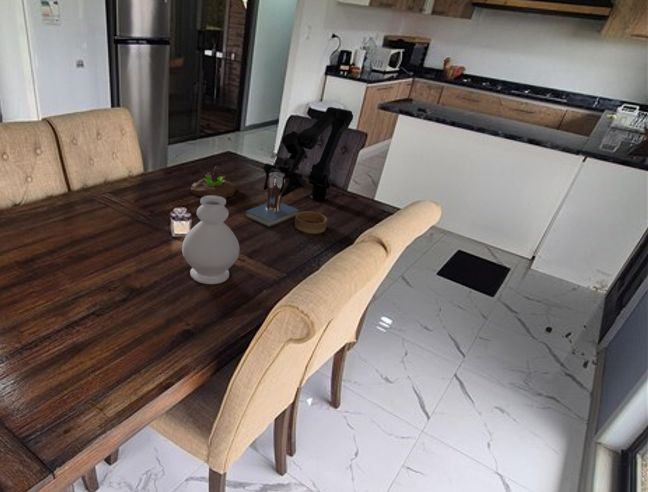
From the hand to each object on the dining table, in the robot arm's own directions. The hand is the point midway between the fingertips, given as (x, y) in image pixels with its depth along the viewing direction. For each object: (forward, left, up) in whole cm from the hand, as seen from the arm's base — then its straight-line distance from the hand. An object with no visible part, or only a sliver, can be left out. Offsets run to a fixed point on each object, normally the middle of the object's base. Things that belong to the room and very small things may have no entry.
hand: (272, 192), depth 183 cm
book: (0, +1, -10) cm, 10 cm away
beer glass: (0, +2, -8) cm, 8 cm away
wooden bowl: (+14, +11, -10) cm, 20 cm away
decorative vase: (+34, -42, -10) cm, 55 cm away
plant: (-34, -10, -10) cm, 37 cm away
